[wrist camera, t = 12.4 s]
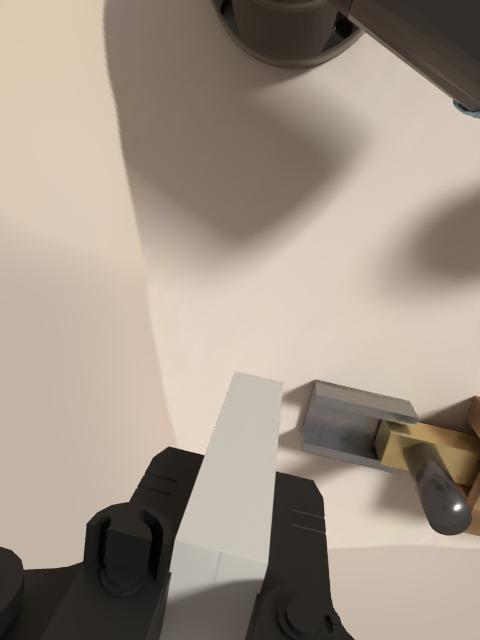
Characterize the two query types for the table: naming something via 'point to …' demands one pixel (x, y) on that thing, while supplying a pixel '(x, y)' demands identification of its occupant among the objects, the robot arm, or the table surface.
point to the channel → (350, 423)
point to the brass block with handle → (433, 468)
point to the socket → (476, 496)
